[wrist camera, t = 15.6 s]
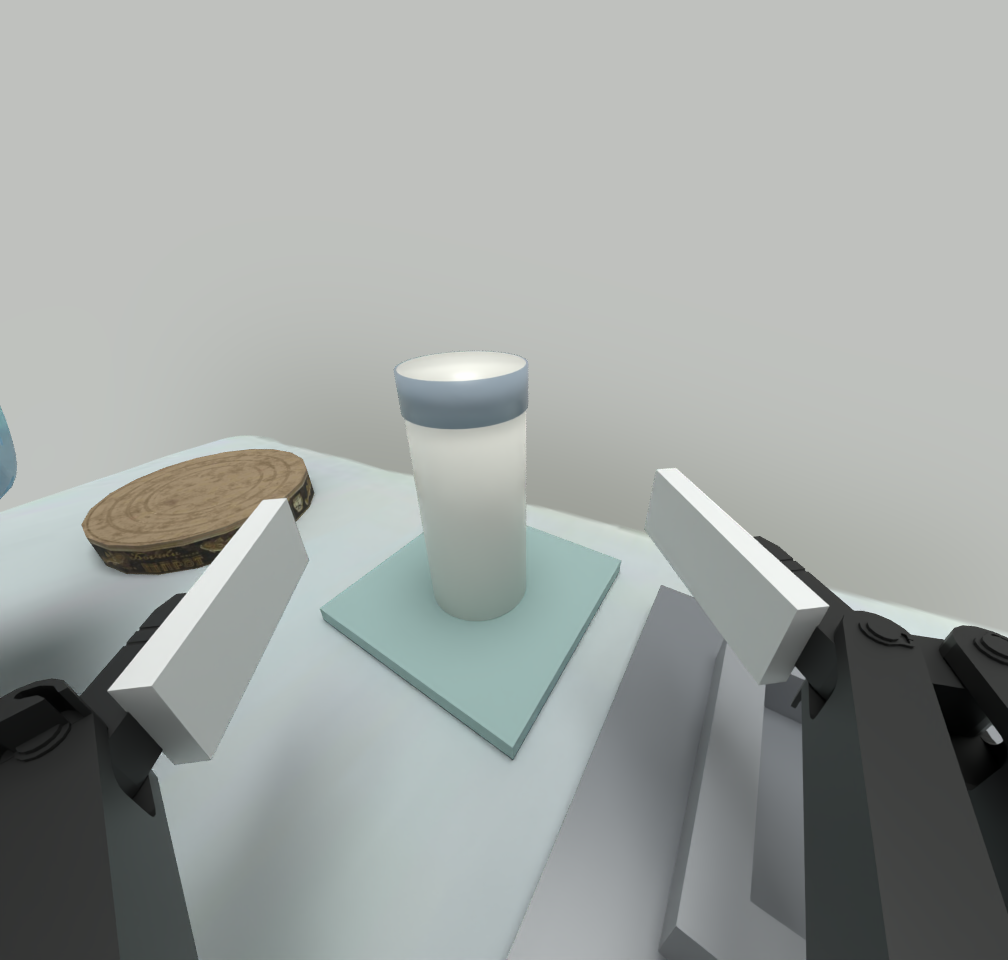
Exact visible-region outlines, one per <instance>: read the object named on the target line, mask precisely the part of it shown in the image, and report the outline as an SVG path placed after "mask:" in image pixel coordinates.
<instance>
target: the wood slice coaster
mask: <svg viewBox="0 0 1008 960" xmlns="http://www.w3.org/2000/svg"><path fill="white" fill-rule="evenodd" d="M313 495H314V491H313V487H312V484H311V481H310V478H309V475H308V472H307V469H306V466H305V464H304V461H303V459H302V458H300V457H298V456H296V455H294V454H293V453H290V452H285V451H280V450H274V449H249V450H240V451H231V452H224V453H219V454H214V455H209V456H204V457H200V458H195V459H192V460H189V461H185V462H182V463H179V464H175V465H172V466H169V467H165V468H163V469H160V470H158V471H156V472H153V473H151V474H148V475H146V476H143V477H141V478H138V479H136V480H134V481H132V482H130V483H129V484H127V485H125V486H123V487H121V488H119V489H118V490H116V491H114V492H112V493H110V494H109V495H108V496H106V497H105V498H104V499H103V500H101V501H100V502H99V503H98V504H96V505H95V506H94V507H93V508H91V509H90V511H89V512H88V514H87V516H86V518H85V519H84V521H83V523H82V527H83V530H84V532H85V535H86V537H87V539H88V540H89V542H90V543H91V544H92V546H93V547H94V549H95V550H96V551H97V553H98V554H99V556H100V557H101V558H102V560H103V561H104V563H105V564H106V565H107V566H109V567H111V568H114V569H116V570H119V571H121V572H124V573H126V574H153V575H160V574H166V573H172V572H178V571H183V570H189V569H195V568H200V567H203V566H206V565H209V564H211V563H212V562H213V561H214V559H215V558H216V557H217V556H218V554H219V553H220V552H221V551H222V550H223V548H224V547H225V546H226V545H227V543H228V542H229V541H230V540H231V539H232V537H233V536H234V535H235V534H236V532H237V531H238V530H239V529H240V528H241V526H242V525H243V524H244V523H245V521H246V520H247V519H248V518H249V516H250V515H251V514H252V513H253V512H254V510H255V509H256V508H257V507H258V505H259V504H260V503H261V502H262V501H263V500H268V499H281V498H287V500H288V503H289V506H290V509H291V511H292V514H293V517H294V520H295V522H296V521H297V520H298V519H299V518H300V517H301V516H302V515H303V513H304V512H305V511H306V510H307V509H308V508H309V507H310V504H311V501H312V498H313Z"/></svg>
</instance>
